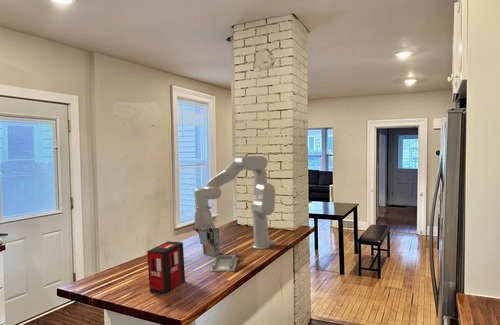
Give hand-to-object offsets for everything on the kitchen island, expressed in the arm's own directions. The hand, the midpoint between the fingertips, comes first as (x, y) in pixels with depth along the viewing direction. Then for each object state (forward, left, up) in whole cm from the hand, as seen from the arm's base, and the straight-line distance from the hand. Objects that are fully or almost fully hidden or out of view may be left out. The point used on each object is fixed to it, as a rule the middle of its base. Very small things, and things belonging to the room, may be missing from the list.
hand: (204, 239), depth 203 cm
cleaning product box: (+12, +37, -13) cm, 41 cm away
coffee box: (-1, -12, -13) cm, 17 cm away
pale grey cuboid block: (0, 0, -1) cm, 1 cm away
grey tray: (-12, +9, -13) cm, 20 cm away
